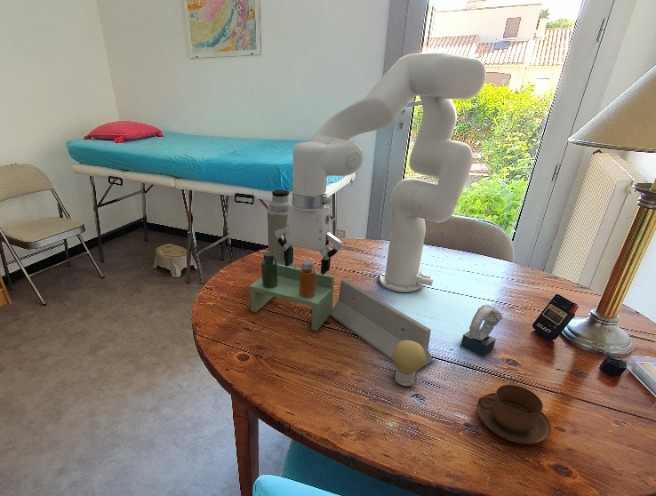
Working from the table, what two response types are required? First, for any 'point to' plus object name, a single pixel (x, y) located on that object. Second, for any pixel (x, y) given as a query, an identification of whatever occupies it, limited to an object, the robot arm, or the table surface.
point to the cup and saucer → (514, 415)
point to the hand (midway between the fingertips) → (306, 268)
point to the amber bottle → (307, 279)
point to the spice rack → (296, 293)
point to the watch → (482, 331)
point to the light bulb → (407, 361)
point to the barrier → (378, 321)
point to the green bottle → (269, 270)
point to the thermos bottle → (278, 222)
